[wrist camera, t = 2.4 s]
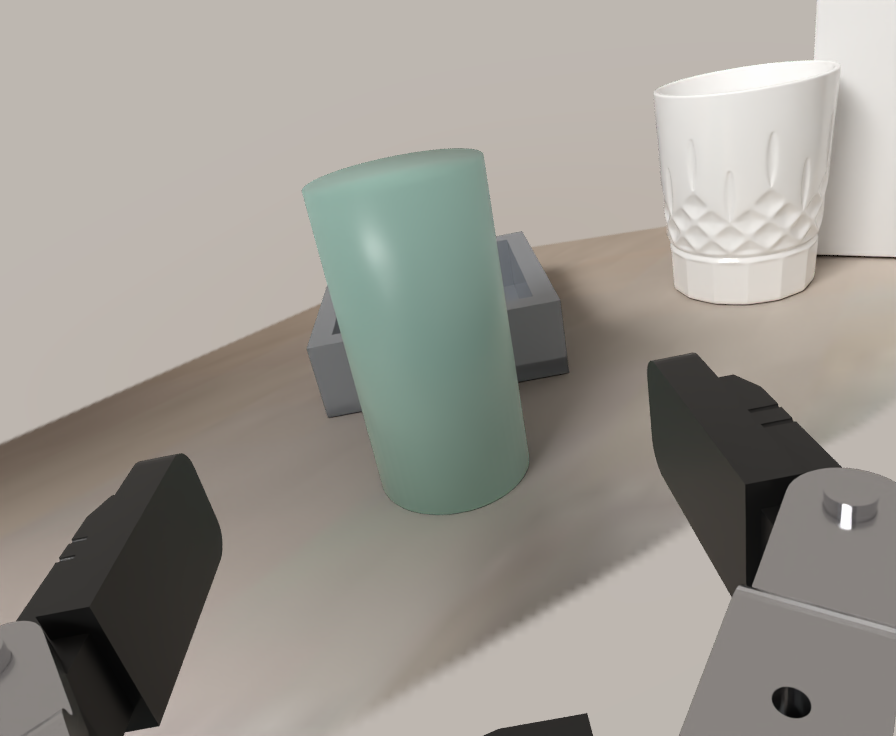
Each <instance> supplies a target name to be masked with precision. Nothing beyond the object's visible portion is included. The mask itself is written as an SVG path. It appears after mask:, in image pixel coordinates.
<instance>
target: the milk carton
mask: <svg viewBox="0 0 896 736" xmlns="http://www.w3.org/2000/svg"><path fill="white" fill-rule="evenodd" d="M814 60H827V61H835V62H838V63H840V64H841V74H840V82H839V90H838V99H837V107H836V116H835V125H834V134H833V143H832V152H831V161H830V170H829V178H828V183H827V187H826V191H825V204H824V213H823V218H822V222H821V225H820V229H819V231H818V233H817V234H818V246H817V254H819V255H851V256H883V257H896V0H817V11H816V30H815V49H814Z"/></svg>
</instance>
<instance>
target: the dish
mask: <svg viewBox="0 0 896 736" xmlns="http://www.w3.org/2000/svg"><path fill="white" fill-rule="evenodd" d="M496 241H497V248H498V254H499V261H500V268H501V274H502V281H503V287H504V294H505V301H506V307H507V314H508V321H509V327H510V334H511V340H512V347H513V354H514V360H515V367H516V373H517V380H518V382H521V381H526V380H531V379H537V378H542V377H547V376H553V375H558V374H563V373H569V369H568V360H567V352H566V343H565V335H564V327H563V318H562V310H561V301H560V298H559V297H558V295H557V293H556V291H555V289H554V288H553V286H552V284H551V282H550V281H549V279H548V277H547V275H546V273H545V272H544V270H543V268H542V266H541V264H540V263H539V261H538V259H537V257H536V255H535V254H534V252H533V250H532V248H531V246H530V245H529V243H528V241H527V239H526V237H525V236H524V234H523V232H522V231H521V232H516V233H511V234H506V235H501V236H496ZM307 351H308V355H309V358H310V361H311V364H312V368H313V371H314V374H315V377H316V381H317V384H318V387H319V390H320V393H321V397H322V400H323V403H324V406H325V410H326V413H327V416H328V418H329V417H334V416H339V415H345V414H350V413H355V412H361V411H362V409H361V405H360V402H359V398H358V394H357V391H356V387H355V383H354V380H353V376H352V372H351V369H350V365H349V361H348V358H347V354H346V351H345V347H344V343H343V340H342V336H341V332H340V329H339V325H338V321H337V318H336V314H335V310H334V307H333V303H332V299H331V296H330V292H329V289H328V285H327V288H326V291H325V294H324V297H323V300H322V303H321V306H320V309H319V312H318V315H317V318H316V322H315V325H314V328H313V331H312V334H311V337H310V340H309V343H308V346H307Z"/></svg>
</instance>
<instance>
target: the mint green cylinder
mask: <svg viewBox="0 0 896 736" xmlns="http://www.w3.org/2000/svg"><path fill="white" fill-rule="evenodd" d="M302 193H303V197H304V201H305V205H306V208H307V211H308V215H309V219H310V223H311V226H312V230H313V234H314V237H315V241H316V245H317V248H318V252H319V255H320V259H321V263H322V266H323V270H324V274H325V278H326V281H327V285H328V289H329V292H330V296H331V299H332V303H333V307H334V310H335V314H336V318H337V321H338V325H339V329H340V332H341V336H342V340H343V343H344V347H345V351H346V354H347V358H348V361H349V365H350V369H351V372H352V376H353V380H354V383H355V387H356V391H357V394H358V398H359V402H360V405H361V409H362V413H363V416H364V420H365V423H366V427H367V431H368V434H369V438H370V442H371V445H372V449H373V453H374V456H375V460H376V464H377V467H378V471H379V475H380V478H381V482H382V485H383V489H384V491H385V493H386V495H387V496H388V497H389V498H390V500H392V501H393V502H394V503H395V504H397V505H399V506H400V507H402V508H405V509H407V510H410V511H413V512H417V513H423V514H434V515H443V514H454V513H461V512H466V511H470V510H473V509H477V508H480V507H483V506H485V505H487V504H490V503H492V502H494V501H496V500H498V499H500V498H501V497H503V496H504V495H506V494H507V493H509V492H510V491H511V490H512V489H513V488H515V487H516V486H517V484H518V483H519V482H520V481H521V480H522V478H523V477H524V475H525V473H526V471H527V469H528V465H529V453H528V446H527V440H526V433H525V426H524V420H523V413H522V406H521V400H520V393H519V387H518V380H517V373H516V367H515V360H514V354H513V347H512V340H511V334H510V327H509V321H508V314H507V307H506V301H505V294H504V287H503V281H502V274H501V268H500V261H499V254H498V248H497V241H496V235H495V228H494V221H493V215H492V208H491V201H490V195H489V188H488V182H487V175H486V168H485V162H484V156H483V153H482V152H481V151H478V150H474V149H463V148H454V149H439V150H429V151H421V152H414V153H408V154H402V155H397V156H392V157H387V158H382V159H378V160H374V161H370V162H365V163H361V164H358V165H355V166H351V167H347V168H344V169H341V170H338V171H335V172H332V173H330V174H327V175H325V176H322V177H320V178H318V179H316V180H313V181H312V182H310V183H308V184H307V185H306V186H304V188H303V189H302Z"/></svg>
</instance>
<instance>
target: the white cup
mask: <svg viewBox="0 0 896 736" xmlns="http://www.w3.org/2000/svg"><path fill="white" fill-rule="evenodd" d="M840 74H841V64H840V63H838V62H835V61H827V60H806V61H805V60H804V61H789V62H778V63H769V64H761V65H753V66H746V67H740V68H734V69H727V70H722V71H716V72H712V73H706V74H702V75H697V76H693V77H689V78H685V79H682V80H678V81H674V82H671V83H669V84H666V85H663V86H661V87H659V88H658V89H656V90H655V91H654V93H653V95H654V106H655V117H656V129H657V138H658V150H659V161H660V175H661V185H662V190H663V195H664V212H665V218H666V223H667V236H668V238H669V240H670V242H671V243H670V247H671V251H672V263H673V276H674V286H675V289H677V290H678V291H680V292H681V293H683V294H684V295H686V296H687V297H689V298H692V299H696V300H700V301H704V302H709V303H714V304H755V303H762V302H768V301H774V300H780V299H783V298H785V297H788V296H791V295H793V294H796V293H798V292H801V291H803V290H804V289H805V288H806V287H807V285H808V284H809V283H810V282H811V281H812V280H813V278H814V274H815V265H816V255H817V246H818V234H817V233H818V231H819V229H820V225H821V222H822V218H823V213H824V204H825V191H826V187H827V183H828V178H829V170H830V161H831V152H832V143H833V134H834V125H835V116H836V107H837V99H838V90H839V82H840Z"/></svg>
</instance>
